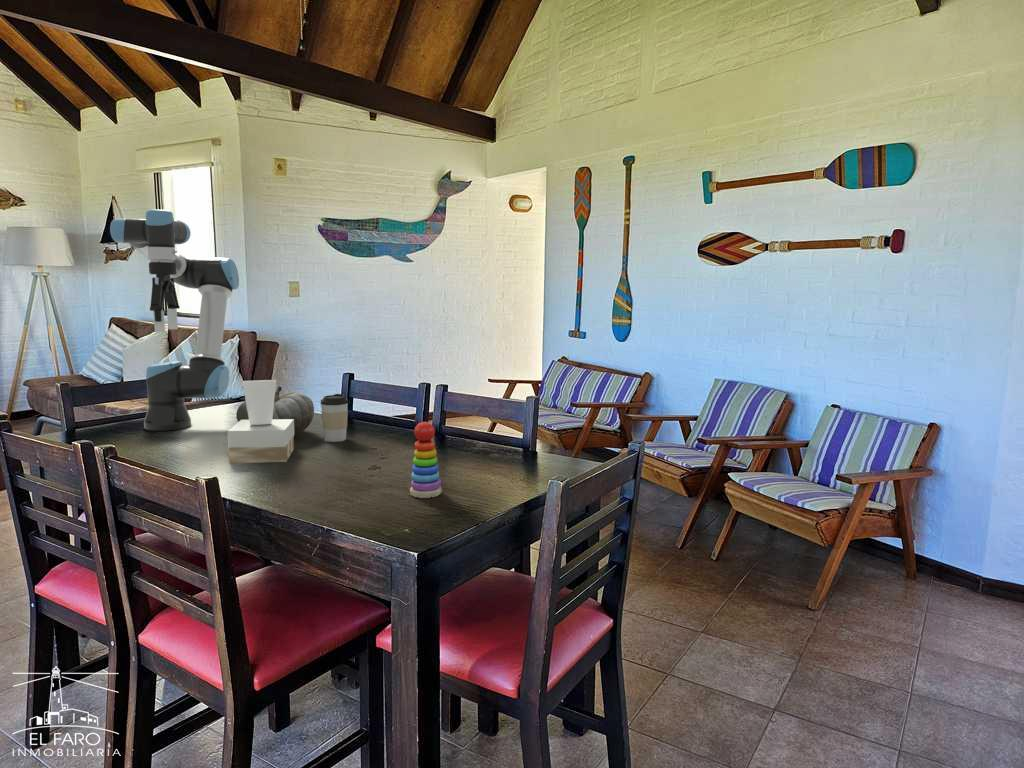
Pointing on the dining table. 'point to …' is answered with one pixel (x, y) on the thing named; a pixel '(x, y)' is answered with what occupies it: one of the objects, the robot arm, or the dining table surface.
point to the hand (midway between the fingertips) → (166, 330)
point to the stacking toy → (425, 464)
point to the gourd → (287, 409)
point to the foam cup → (260, 400)
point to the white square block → (261, 434)
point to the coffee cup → (334, 417)
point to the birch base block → (261, 454)
